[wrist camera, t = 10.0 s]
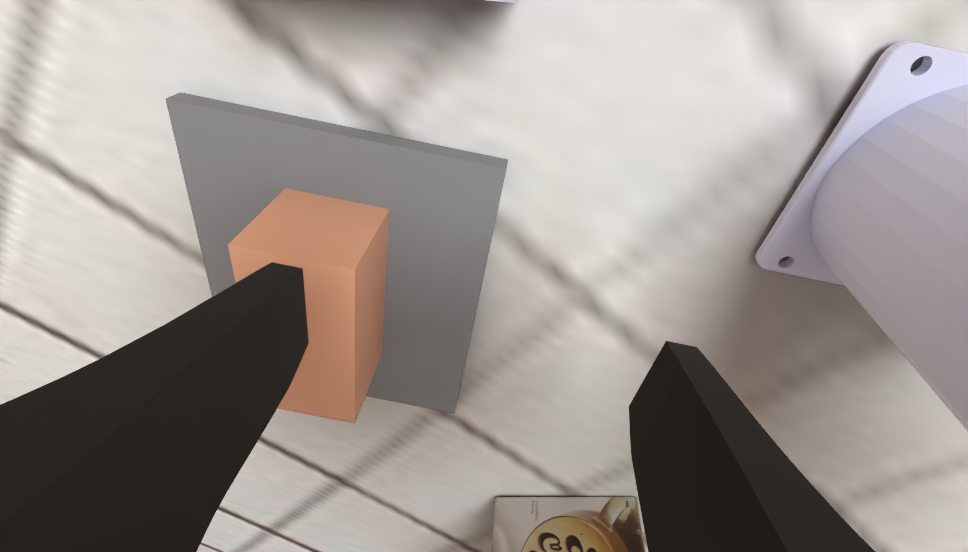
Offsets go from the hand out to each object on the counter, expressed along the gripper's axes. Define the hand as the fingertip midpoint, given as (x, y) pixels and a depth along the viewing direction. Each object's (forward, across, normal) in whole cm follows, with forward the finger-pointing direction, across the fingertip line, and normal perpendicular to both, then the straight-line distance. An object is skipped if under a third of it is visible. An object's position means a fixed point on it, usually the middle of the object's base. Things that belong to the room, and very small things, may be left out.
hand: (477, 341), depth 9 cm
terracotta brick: (+9, +6, +6) cm, 12 cm away
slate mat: (+9, +6, +7) cm, 13 cm away
